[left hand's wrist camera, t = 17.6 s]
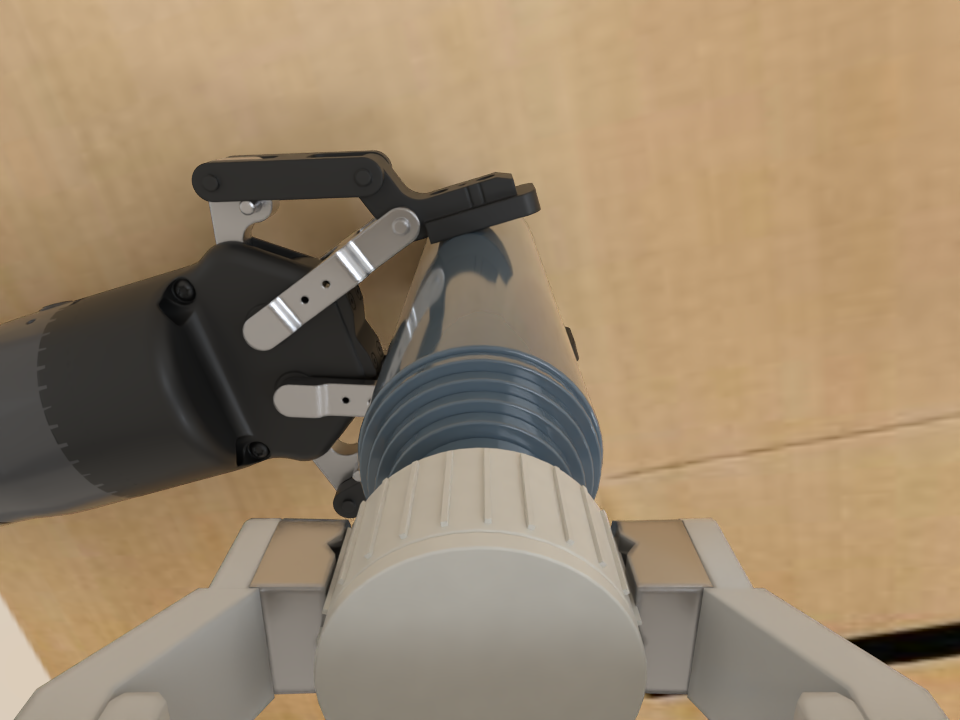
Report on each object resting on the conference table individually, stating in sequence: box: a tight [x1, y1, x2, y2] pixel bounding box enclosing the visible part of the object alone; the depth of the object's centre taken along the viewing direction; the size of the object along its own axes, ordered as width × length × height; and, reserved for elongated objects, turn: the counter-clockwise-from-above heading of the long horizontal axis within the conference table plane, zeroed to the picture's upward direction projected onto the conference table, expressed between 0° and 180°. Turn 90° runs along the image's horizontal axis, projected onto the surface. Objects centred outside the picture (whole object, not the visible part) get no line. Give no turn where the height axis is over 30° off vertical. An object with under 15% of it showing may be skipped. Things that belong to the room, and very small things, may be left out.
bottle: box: [357, 217, 603, 500], centre depth 19 cm, size 5×5×23 cm
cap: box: [314, 448, 647, 720], centre depth 9 cm, size 4×4×2 cm
